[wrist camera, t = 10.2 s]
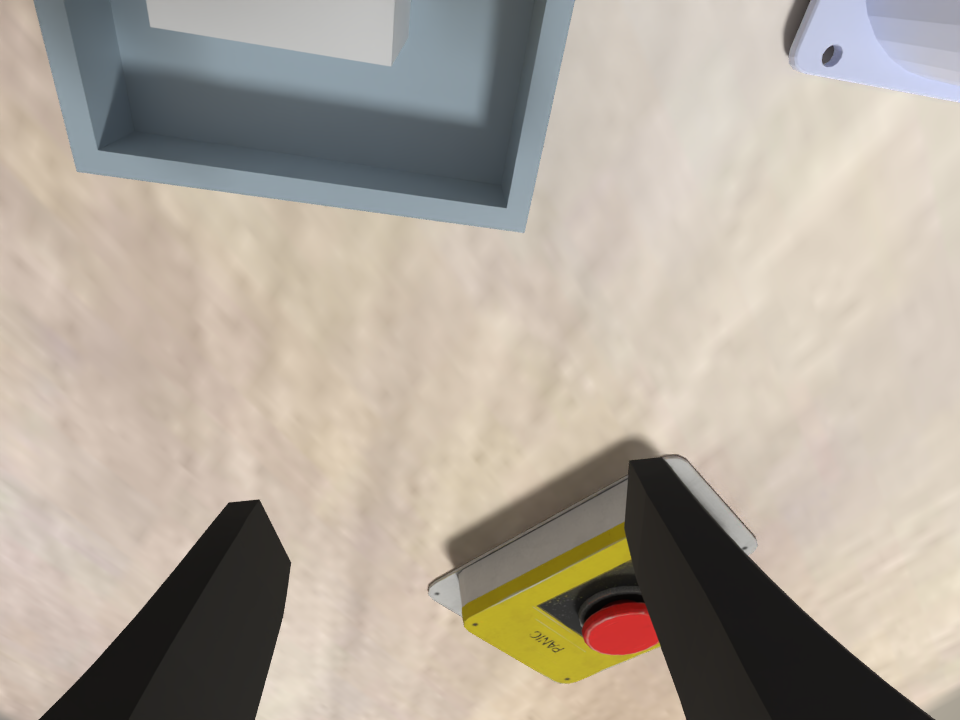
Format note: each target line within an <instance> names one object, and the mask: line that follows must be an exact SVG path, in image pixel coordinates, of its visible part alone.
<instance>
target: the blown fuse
mask: <svg viewBox="0 0 960 720" xmlns="http://www.w3.org/2000/svg"><path fill="white" fill-rule="evenodd" d="M146 3H147V10H148V16H149V22H150V27H154V28H160V29H166V30H172V31H178V32H184V33H190V34H196V35H203V36H209V37H215V38H221V39H227V40H233V41H239V42H245V43H251V44H257V45H263V46H269V47H275V48H281V49H288V50H294V51H300V52H306V53H312V54H318V55H324V56H330V57H336V58H342V59H348V60H354V61H360V62H366V63H372V64H379V65H385V66H392V64H393V63H394V61H395V59H396V58H397V56H398V54H399V52H400V51H401V49H402V47H403V46H404V44H405V42H406V41H407V39H408V35H409V21H410V7H411V0H146Z"/></svg>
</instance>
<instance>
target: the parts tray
mask: <svg viewBox="0 0 960 720" xmlns="http://www.w3.org/2000/svg"><path fill="white" fill-rule="evenodd" d="M574 2H575V0H411V7H410V21H409V35H408V39H407V41H406V42H405V44H404V46H403V47H402V49H401V51H400V52H399V54H398V56H397V58H396V59H395V61H394V63H393V64H392V66H385V65H379V64H372V63H366V62H360V61H354V60H348V59H342V58H336V57H330V56H324V55H318V54H312V53H306V52H300V51H294V50H288V49H281V48H275V47H269V46H263V45H257V44H251V43H245V42H239V41H233V40H227V39H221V38H215V37H209V36H203V35H196V34H190V33H184V32H178V31H172V30H166V29H160V28H154V27H150V22H149V16H148V10H147V3H146V0H34V4H35V8H36V12H37V16H38V20H39V24H40V28H41V32H42V36H43V40H44V44H45V48H46V52H47V56H48V59H49V63H50V67H51V71H52V75H53V79H54V83H55V87H56V91H57V95H58V99H59V103H60V107H61V111H62V115H63V119H64V123H65V127H66V131H67V135H68V138H69V142H70V146H71V150H72V154H73V158H74V162H75V166H76V170H77V172H82V173H90V174H97V175H104V176H112V177H119V178H126V179H134V180H141V181H148V182H155V183H163V184H170V185H177V186H185V187H192V188H199V189H207V190H214V191H221V192H229V193H236V194H243V195H251V196H258V197H265V198H273V199H280V200H287V201H295V202H302V203H309V204H316V205H324V206H331V207H338V208H346V209H353V210H360V211H368V212H375V213H382V214H390V215H397V216H404V217H412V218H419V219H426V220H434V221H441V222H448V223H456V224H463V225H470V226H477V227H485V228H492V229H499V230H507V231H514V232H521V233H524V232H525V228H526V223H527V218H528V214H529V209H530V205H531V200H532V195H533V191H534V186H535V182H536V177H537V172H538V168H539V163H540V159H541V154H542V149H543V145H544V140H545V136H546V131H547V126H548V122H549V117H550V113H551V108H552V103H553V99H554V94H555V89H556V85H557V80H558V76H559V71H560V66H561V62H562V57H563V53H564V48H565V43H566V39H567V34H568V30H569V25H570V20H571V16H572V11H573V7H574Z"/></svg>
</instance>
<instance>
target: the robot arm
mask: <svg viewBox="0 0 960 720" xmlns="http://www.w3.org/2000/svg"><path fill="white" fill-rule="evenodd" d="M831 45H833V47H834V53H833V56H832V58H831V59H830V61H829V62H827V63H826V64H824V65H823V63H822V56H823V53H824V52H825V50H826V49H827V48H828V47H830V46H831ZM789 64H790V65H791V67H792V68H793V69H794V70H796V71H798V72H801V73H805V74H810V75H816V76H821V77H826V78H832V79H837V80H842V81H848V82H853V83H858V84H864V85H869V86H874V87H880V88H885V89H890V90H896V91H901V92H906V93H912V94H917V95H922V96H928V97H933V98H939V99H944V100H949V101H955V102H960V0H811V1H810V3H809V5H808V8H807V10H806V12H805V15H804V17H803V20H802V22H801V24H800V27H799V29H798V31H797V34H796V36H795V39H794V41H793V43H792V46H791V48H790V52H789ZM624 530H625V534H626V539H627V543H628V547H629V551H630V556H631V560H632V564H633V567H634V571H635V575H636V579H637V582H638V585H639V588H640V591H641V594H642V596H643V599H644V602H645V605H646V608H647V610H648V613H649V616H650V619H651V621H652V624H653V627H654V630H655V632H656V635H657V638H658V641H659V643H660V646H661V649H662V652H663V654H664V657H665V660H666V663H667V665H668V668H669V671H670V674H671V676H672V679H673V682H674V685H675V687H676V690H677V693H678V695H679V698H680V701H681V704H682V708H683V711H684V714H685V717H686V720H935V719H933V718H932V717H931V716H929V715H928V714H927V713H926V712H924V711H923V710H922V709H920V708H919V707H918V706H916V705H915V704H914V703H913V702H911V701H910V700H909V699H907V698H906V697H905V696H903V695H902V694H901V693H899V692H898V691H897V690H896V689H894V688H893V687H892V686H890V685H889V684H888V683H887V682H885V681H884V680H883V679H882V678H881V677H879V676H878V675H877V674H876V673H875V672H873V671H872V670H871V669H870V668H869V667H867V666H866V665H865V664H864V663H863V662H861V661H860V660H859V659H858V658H857V657H855V656H854V655H853V654H852V653H851V652H849V651H848V650H847V649H846V648H845V647H844V646H843V645H841V644H840V643H839V642H838V641H837V640H836V639H835V638H833V637H832V636H831V635H830V634H829V633H828V632H827V631H825V630H824V629H823V628H822V627H821V626H820V625H819V624H818V623H816V622H815V621H814V620H813V619H812V618H811V617H810V616H809V615H808V614H807V613H806V612H805V611H803V610H802V609H801V608H800V607H799V606H798V605H797V604H796V603H795V602H794V601H793V600H792V599H791V598H790V597H789V596H788V595H787V594H786V593H785V592H784V591H783V590H782V589H781V588H779V587H778V586H777V585H776V584H775V583H774V582H773V581H772V580H771V579H770V578H769V577H768V576H767V575H766V574H765V573H764V572H763V571H762V570H761V569H760V568H759V567H758V566H757V565H756V564H755V562H754V561H753V560H752V559H751V558H750V557H749V556H748V555H747V554H746V553H745V552H744V551H743V550H742V549H741V548H740V547H739V545H738V544H737V543H736V542H735V541H734V540H733V539H732V538H731V537H730V536H729V535H728V534H727V533H726V532H725V530H724V529H723V528H722V527H721V526H720V525H719V524H718V523H717V522H716V520H715V519H714V518H713V517H712V516H711V515H710V514H709V512H708V511H707V510H706V509H705V508H704V507H703V505H702V504H701V503H700V502H699V501H698V500H697V498H696V497H695V496H694V495H693V494H692V492H691V491H690V490H689V489H688V488H687V486H686V485H685V484H684V483H683V482H682V480H681V479H680V478H679V477H678V475H677V474H676V473H675V472H674V470H673V469H672V468H671V466H670V465H669V464H668V463H667V461H665V460H664V459H663V458H662V457H660V458H650V459H641V460H631V461H629V472H628V485H627V498H626V510H625V523H624ZM290 567H291V561H290V559H289V557H288V556H287V554H286V552H285V550H284V548H283V546H282V544H281V542H280V540H279V538H278V536H277V534H276V532H275V530H274V528H273V526H272V524H271V522H270V520H269V518H268V516H267V514H266V512H265V510H264V508H263V506H262V504H261V502H260V500H250V501H240V502H230V503H228V504H227V505H226V507H225V508H224V509H223V510H222V511H221V513H220V514H219V515H218V516H217V517H216V519H215V520H214V521H213V522H212V524H211V525H210V526H209V527H208V529H207V530H206V531H205V532H204V534H203V535H202V536H201V537H200V539H199V540H198V541H197V542H196V544H195V545H194V546H193V547H192V548H191V550H190V551H189V552H188V553H187V555H186V556H185V557H184V558H183V560H182V561H181V562H180V563H179V565H178V566H177V567H176V568H175V570H174V571H173V572H172V573H171V574H170V576H169V577H168V578H167V579H166V580H165V582H164V583H163V584H162V585H161V587H160V588H159V589H158V590H157V591H156V593H155V594H154V595H153V596H152V597H151V599H150V600H149V601H148V602H147V603H146V605H145V606H144V607H143V608H142V609H141V611H140V612H139V613H138V614H137V615H136V616H135V618H134V619H133V620H132V621H131V622H130V623H129V624H128V625H127V627H126V628H125V629H124V630H123V631H122V632H121V633H120V634H119V636H118V637H117V638H116V639H115V640H114V641H113V642H112V643H111V645H110V646H109V647H108V648H107V649H106V650H105V651H104V652H103V654H102V655H101V656H100V657H99V658H98V659H97V660H96V661H95V662H94V664H93V665H92V666H91V667H90V668H89V669H88V670H87V671H86V672H85V673H84V674H83V675H82V676H81V677H80V679H79V680H78V681H77V682H76V683H75V684H74V685H73V686H72V687H71V688H70V689H69V690H68V691H67V692H66V693H65V694H64V695H63V696H62V697H61V698H60V699H59V700H58V701H57V702H56V703H55V704H54V705H53V706H52V707H51V708H50V709H49V710H48V711H47V712H46V713H45V714H44V715H43V716H42V717H41V718H40V719H39V720H255V717H256V714H257V710H258V706H259V703H260V699H261V696H262V692H263V688H264V685H265V681H266V678H267V674H268V670H269V667H270V663H271V660H272V656H273V652H274V648H275V645H276V641H277V637H278V634H279V630H280V626H281V622H282V618H283V614H284V608H285V602H286V596H287V589H288V582H289V574H290Z"/></svg>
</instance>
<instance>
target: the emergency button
mask: <svg viewBox="0 0 960 720" xmlns="http://www.w3.org/2000/svg"><path fill="white" fill-rule="evenodd" d="M663 459H664V460H665V461H667V463H668V464H669V465H670V466H671V468H672V469H673V470H674V472H675V473H676V474H677V475H678V477H679V478H680V479H681V480H682V482H683V483H684V484H685V485H686V486H687V488H688V489H689V490H690V491H691V492H692V494H693V495H694V496H695V497H696V498H697V500H698V501H699V502H700V503H701V504H702V505H703V507H704V508H705V509H706V510H707V511H708V512H709V514H710V515H711V516H712V517H713V518H714V519H715V520H716V522H717V523H718V524H719V525H720V526H721V527H722V528H723V529H724V530H725V532H726V533H727V534H728V535H729V536H730V537H731V538H732V539H733V540H734V541H735V542H736V543H737V544H738V545H739V547H740V548H741V549H742V550H743V551H744V552H745V553H746V554H747V555H750V554H752V553H753V552H754V551H755V549H756V548H757V546H758V544H757V540H756V538H755V537H754V536H753V535H752V533H751V532H750V531H749V530H748V529H747V528H746V527H745V526H744V524H743V523H742V522H741V521H740V520H739V519H738V518H737V516H736V515H735V514H734V513H733V512H732V511H731V510H730V509H729V507H728V506H727V505H726V504H725V503H724V502H723V501H722V500H721V498H720V497H719V496H718V495H717V494H716V493H715V492H714V491H713V489H712V488H711V487H710V486H709V485H708V484H707V483H706V481H705V480H704V479H703V478H702V477H701V476H700V475H699V474H698V472H697V471H696V470H695V469H694V468H693V467H692V466H691V465H690V463H689V462H688V461H687V460H685V459H683V458H681V457H679V456H665V457H663ZM627 485H628V475H627V476H625V477H623V478H621V479H620V480H618V481H616V482H614V483H612V484H610V485H609V486H607V487H605V488H603V489H601V490H599V491H598V492H596V493H594V494H592V495H590V496H589V497H587V498H585V499H583V500H581V501H579V502H578V503H576V504H574V505H572V506H570V507H568V508H567V509H565V510H563V511H561V512H559V513H558V514H556V515H554V516H552V517H550V518H548V519H547V520H545V521H543V522H541V523H539V524H538V525H536V526H534V527H532V528H530V529H528V530H527V531H525V532H523V533H521V534H519V535H517V536H516V537H514V538H512V539H510V540H508V541H507V542H505V543H503V544H501V545H499V546H497V547H496V548H494V549H492V550H490V551H488V552H486V553H485V554H483V555H481V556H479V557H477V558H476V559H474V560H472V561H470V562H468V563H466V564H465V565H463V566H461V567H459V568H457V569H456V570H454V571H452V572H450V573H448V574H446V575H445V576H443V577H441V578H439V579H437V580H436V581H434V582H433V583H432V584H431V585H430V586H429V591H428V595H429V596H430V597H431V598H432V599H433V600H434V601H436V602H438V603H439V604H441V605H443V606H444V607H446V608H448V609H449V610H451V611H453V612H454V613H456V614H458V615H459V616H461V617H462V618H463V623H464V627H465V628H466V629H467V630H468V631H469V632H470V633H472V634H474V635H476V636H477V637H479V638H481V639H482V640H484V641H486V642H487V643H489V644H491V645H493V646H494V647H496V648H498V649H499V650H501V651H503V652H505V653H506V654H508V655H510V656H511V657H513V658H515V659H516V660H518V661H520V662H522V663H523V664H525V665H527V666H528V667H530V668H532V669H533V670H535V671H537V672H539V673H540V674H542V675H544V676H545V677H547V678H549V679H551V680H552V681H554V682H557V683H560V684H570V683H574V682H577V681H580V680H582V679H584V678H587V677H589V676H591V675H594V674H596V673H599V672H601V671H603V670H606V669H608V668H611V667H613V666H615V665H618V664H620V663H623V662H625V661H627V660H630V659H632V658H635V657H637V656H639V655H642V654H644V653H646V652H649V651H651V650H654V649H656V648H658V647H661V646H660V643H659V641H658V638H657V635H656V632H655V630H654V627H653V624H652V621H651V619H650V616H649V613H648V610H647V608H646V605H645V602H644V599H643V596H642V594H641V591H640V588H639V585H638V582H637V579H636V575H635V571H634V567H633V564H632V560H631V556H630V551H629V547H628V543H627V539H626V534H625V530H624V523H625V510H626V498H627Z"/></svg>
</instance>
